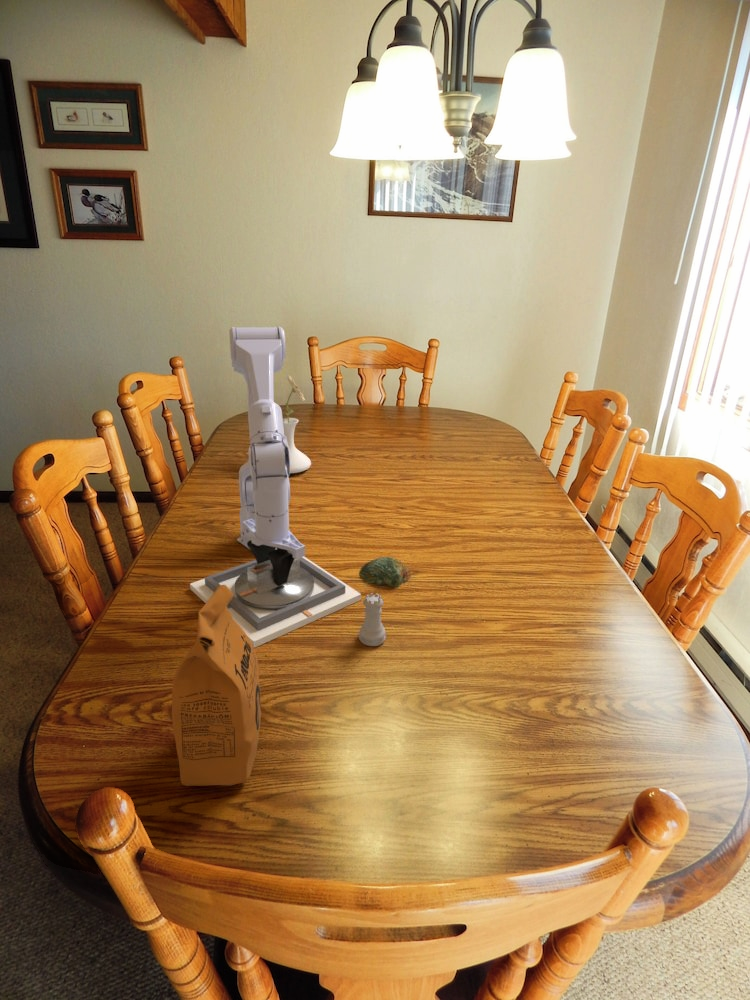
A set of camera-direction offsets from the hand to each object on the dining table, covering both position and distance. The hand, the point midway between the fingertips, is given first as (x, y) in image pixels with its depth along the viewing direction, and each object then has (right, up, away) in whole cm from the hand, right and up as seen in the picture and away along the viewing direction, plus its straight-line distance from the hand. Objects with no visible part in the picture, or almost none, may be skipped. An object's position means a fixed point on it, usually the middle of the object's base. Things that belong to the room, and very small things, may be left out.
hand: (274, 579), depth 111 cm
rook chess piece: (+17, -9, -10) cm, 22 cm away
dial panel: (0, -3, +1) cm, 3 cm away
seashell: (+20, -1, +9) cm, 22 cm away
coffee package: (-1, -18, -32) cm, 37 cm away
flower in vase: (-5, +23, +59) cm, 64 cm away
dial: (0, -2, +1) cm, 2 cm away
